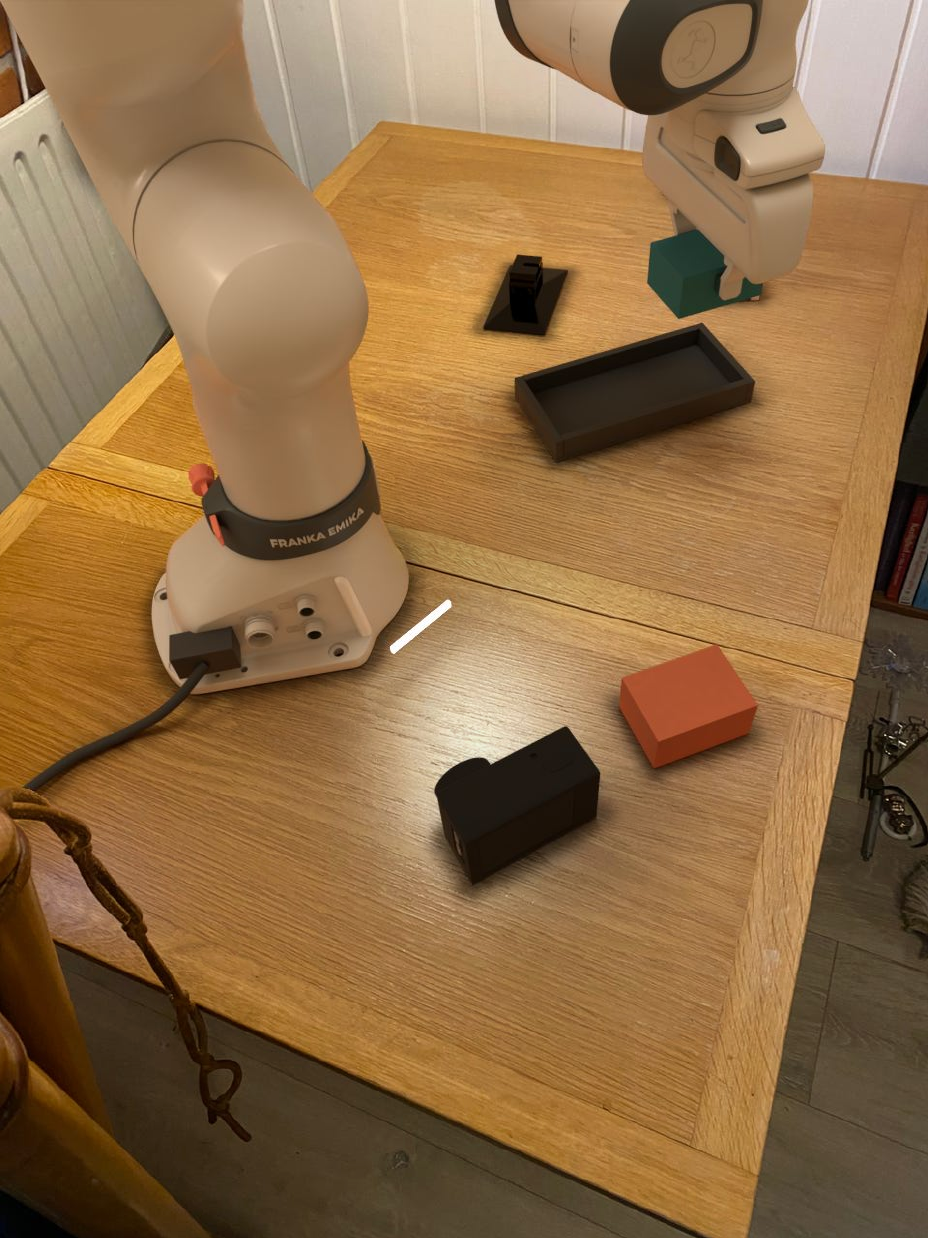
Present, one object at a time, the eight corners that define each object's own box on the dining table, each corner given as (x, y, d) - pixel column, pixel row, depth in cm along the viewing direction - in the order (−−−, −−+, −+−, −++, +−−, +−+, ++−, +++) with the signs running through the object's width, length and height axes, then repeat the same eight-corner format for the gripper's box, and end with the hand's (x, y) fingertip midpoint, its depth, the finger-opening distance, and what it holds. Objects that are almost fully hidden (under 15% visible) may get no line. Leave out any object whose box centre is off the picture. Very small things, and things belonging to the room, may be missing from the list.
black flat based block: (544, 337, 104) (544, 300, 100) (480, 330, 106) (477, 294, 102) (568, 272, 111) (568, 235, 107) (507, 266, 113) (506, 230, 109)
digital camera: (558, 760, 72) (558, 710, 67) (597, 817, 69) (601, 770, 64) (436, 823, 70) (426, 778, 64) (472, 886, 67) (464, 843, 61)
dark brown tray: (555, 463, 92) (556, 442, 90) (514, 397, 98) (514, 377, 96) (751, 402, 95) (755, 380, 93) (699, 342, 101) (702, 321, 99)
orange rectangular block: (653, 769, 71) (658, 741, 68) (618, 706, 75) (621, 677, 71) (749, 733, 72) (758, 705, 69) (710, 673, 76) (717, 643, 73)
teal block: (678, 319, 82) (683, 278, 79) (646, 283, 86) (650, 242, 83) (761, 295, 83) (769, 253, 80) (726, 260, 87) (733, 219, 84)
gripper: (629, 65, 78) (620, 224, 89) (760, 179, 66) (731, 346, 77) (698, 48, 79) (681, 207, 90) (840, 157, 67) (800, 325, 78)
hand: (705, 272), depth 83 cm, fingers closed on teal block, 6 cm apart
